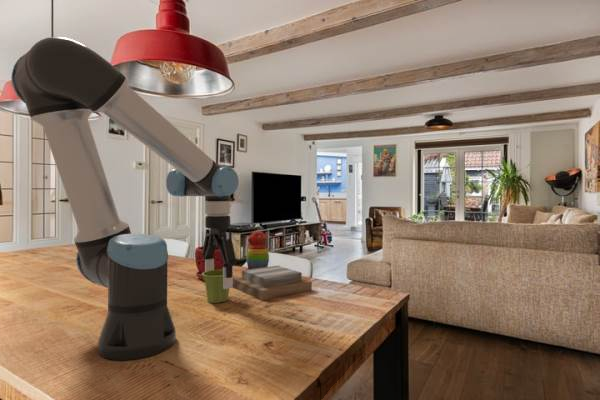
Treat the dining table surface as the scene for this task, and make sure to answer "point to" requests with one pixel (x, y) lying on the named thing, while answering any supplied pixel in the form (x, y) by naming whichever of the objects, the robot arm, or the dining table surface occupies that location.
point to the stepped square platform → (271, 282)
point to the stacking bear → (257, 251)
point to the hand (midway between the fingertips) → (218, 283)
